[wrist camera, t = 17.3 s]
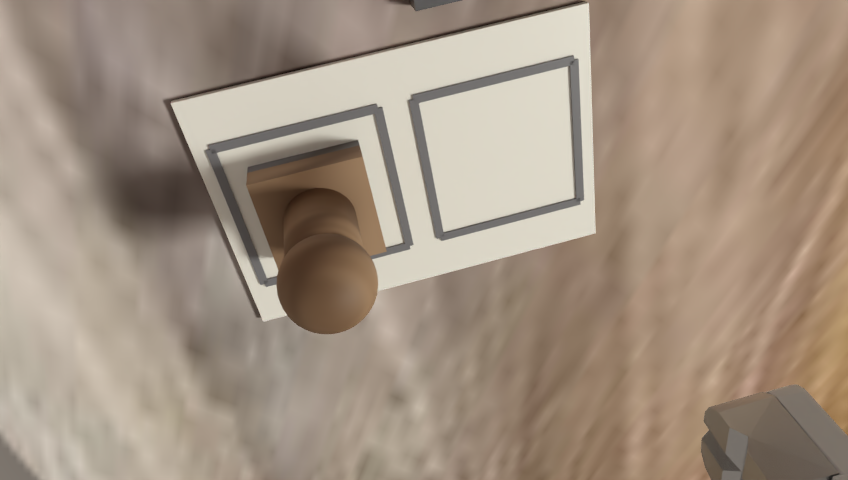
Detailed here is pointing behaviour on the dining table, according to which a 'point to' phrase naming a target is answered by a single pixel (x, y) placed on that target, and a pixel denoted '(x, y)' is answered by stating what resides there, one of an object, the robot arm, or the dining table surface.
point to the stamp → (320, 234)
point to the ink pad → (429, 3)
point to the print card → (421, 145)
